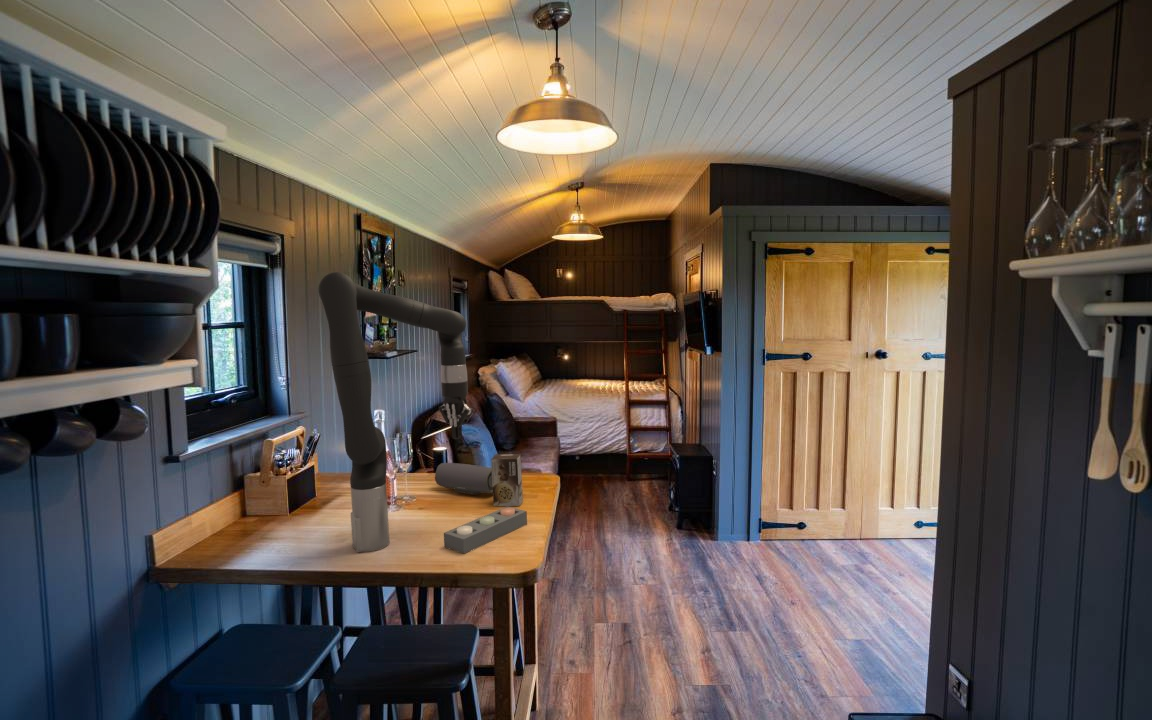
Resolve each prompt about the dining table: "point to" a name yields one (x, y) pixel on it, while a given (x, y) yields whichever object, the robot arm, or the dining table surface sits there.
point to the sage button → (487, 520)
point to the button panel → (484, 531)
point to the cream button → (464, 530)
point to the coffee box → (507, 480)
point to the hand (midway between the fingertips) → (457, 438)
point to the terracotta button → (507, 511)
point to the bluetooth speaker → (465, 478)
